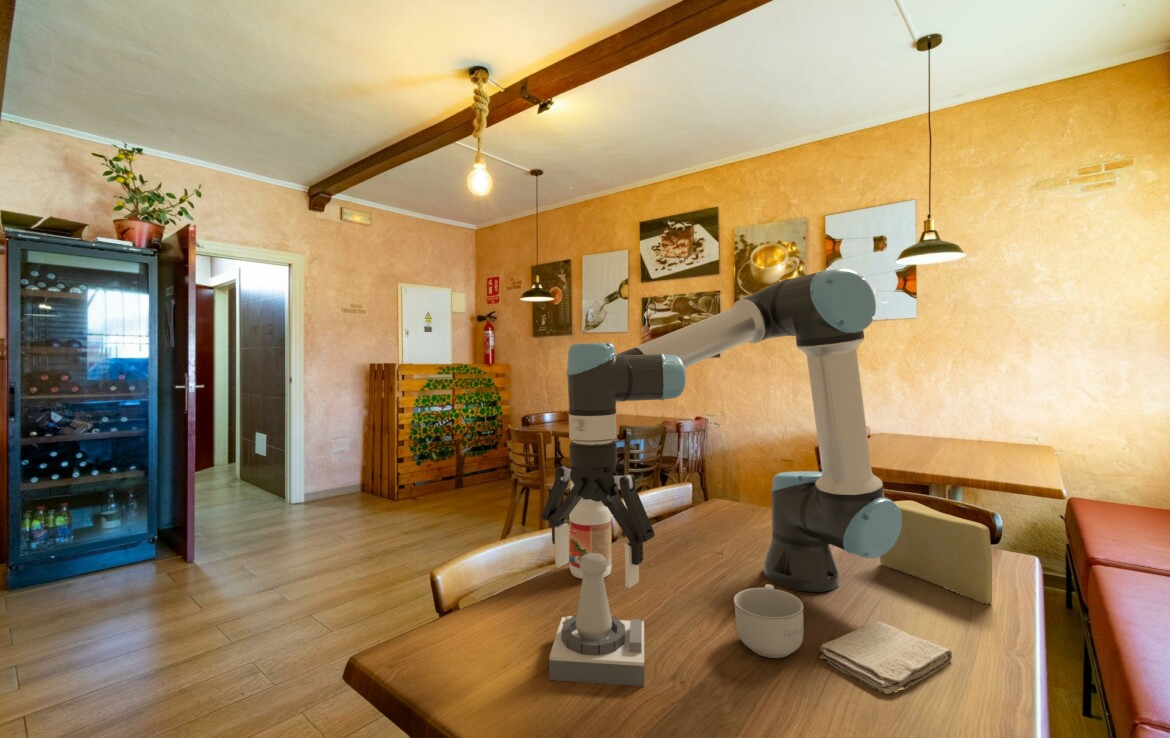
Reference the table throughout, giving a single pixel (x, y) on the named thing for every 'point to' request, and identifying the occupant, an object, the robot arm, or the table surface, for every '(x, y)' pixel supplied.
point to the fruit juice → (589, 533)
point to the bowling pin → (593, 600)
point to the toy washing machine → (599, 654)
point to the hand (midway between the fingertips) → (595, 574)
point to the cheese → (943, 551)
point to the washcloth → (885, 656)
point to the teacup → (769, 621)
